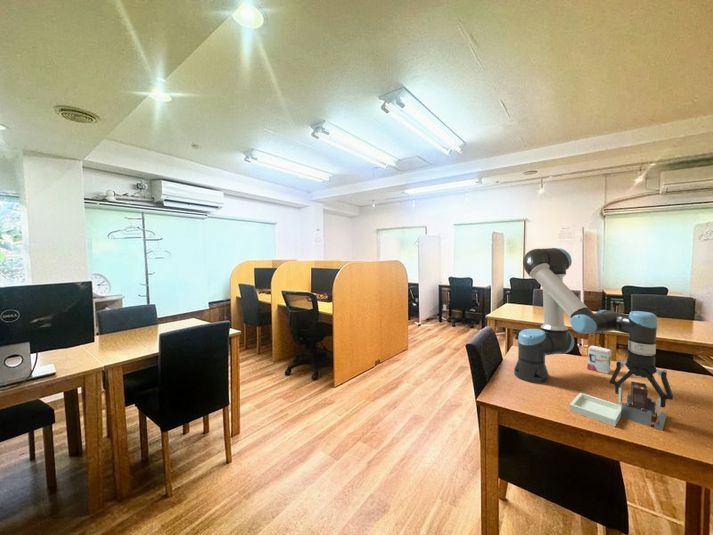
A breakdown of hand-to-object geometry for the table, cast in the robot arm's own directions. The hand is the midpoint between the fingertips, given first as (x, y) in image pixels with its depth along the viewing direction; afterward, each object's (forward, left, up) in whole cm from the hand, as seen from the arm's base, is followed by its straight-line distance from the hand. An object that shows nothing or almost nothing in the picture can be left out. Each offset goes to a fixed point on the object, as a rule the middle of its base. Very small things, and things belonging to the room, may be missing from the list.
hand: (638, 408), depth 111 cm
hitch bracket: (+1, 0, -3) cm, 3 cm away
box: (0, 0, -3) cm, 3 cm away
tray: (-11, -9, -3) cm, 14 cm away
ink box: (-20, +38, -3) cm, 43 cm away
